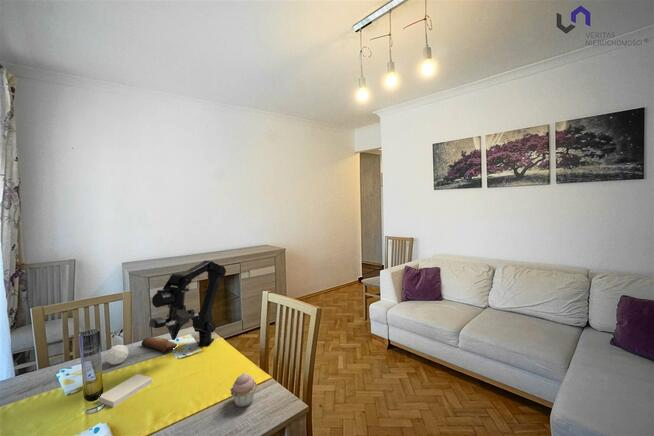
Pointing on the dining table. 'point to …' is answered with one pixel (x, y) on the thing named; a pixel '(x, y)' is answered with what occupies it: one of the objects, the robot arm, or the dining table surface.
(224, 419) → the dining table surface
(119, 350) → the geometric ball
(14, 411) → the dining table surface
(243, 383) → the cupcake
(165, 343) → the sunglasses case
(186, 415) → the dining table surface
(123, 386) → the wooden block
